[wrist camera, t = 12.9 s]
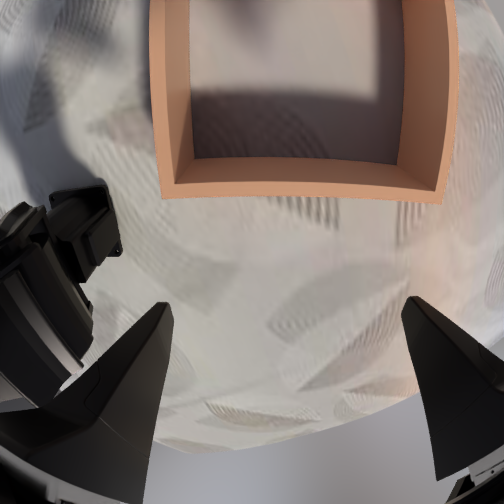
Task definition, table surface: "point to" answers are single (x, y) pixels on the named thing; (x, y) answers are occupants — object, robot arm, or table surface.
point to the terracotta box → (313, 169)
